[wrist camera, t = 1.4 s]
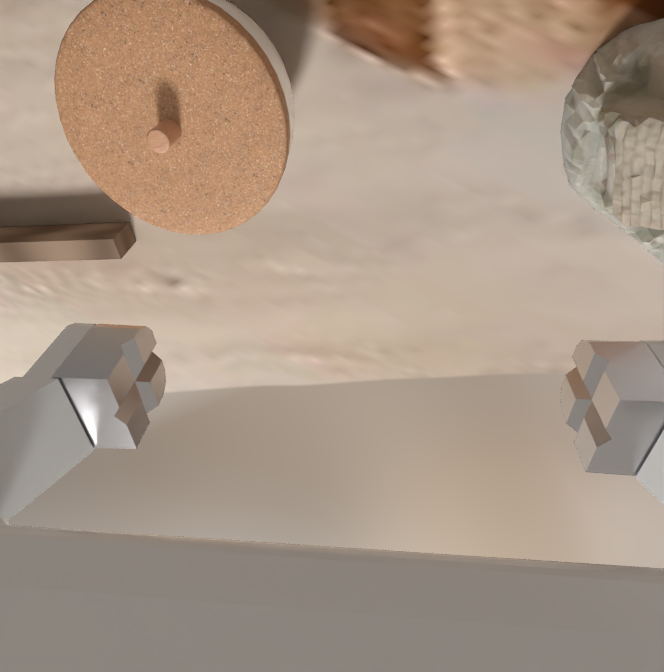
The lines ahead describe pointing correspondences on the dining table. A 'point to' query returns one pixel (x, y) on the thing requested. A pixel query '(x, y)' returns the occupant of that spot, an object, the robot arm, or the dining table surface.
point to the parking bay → (65, 242)
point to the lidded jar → (176, 109)
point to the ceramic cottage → (621, 133)
